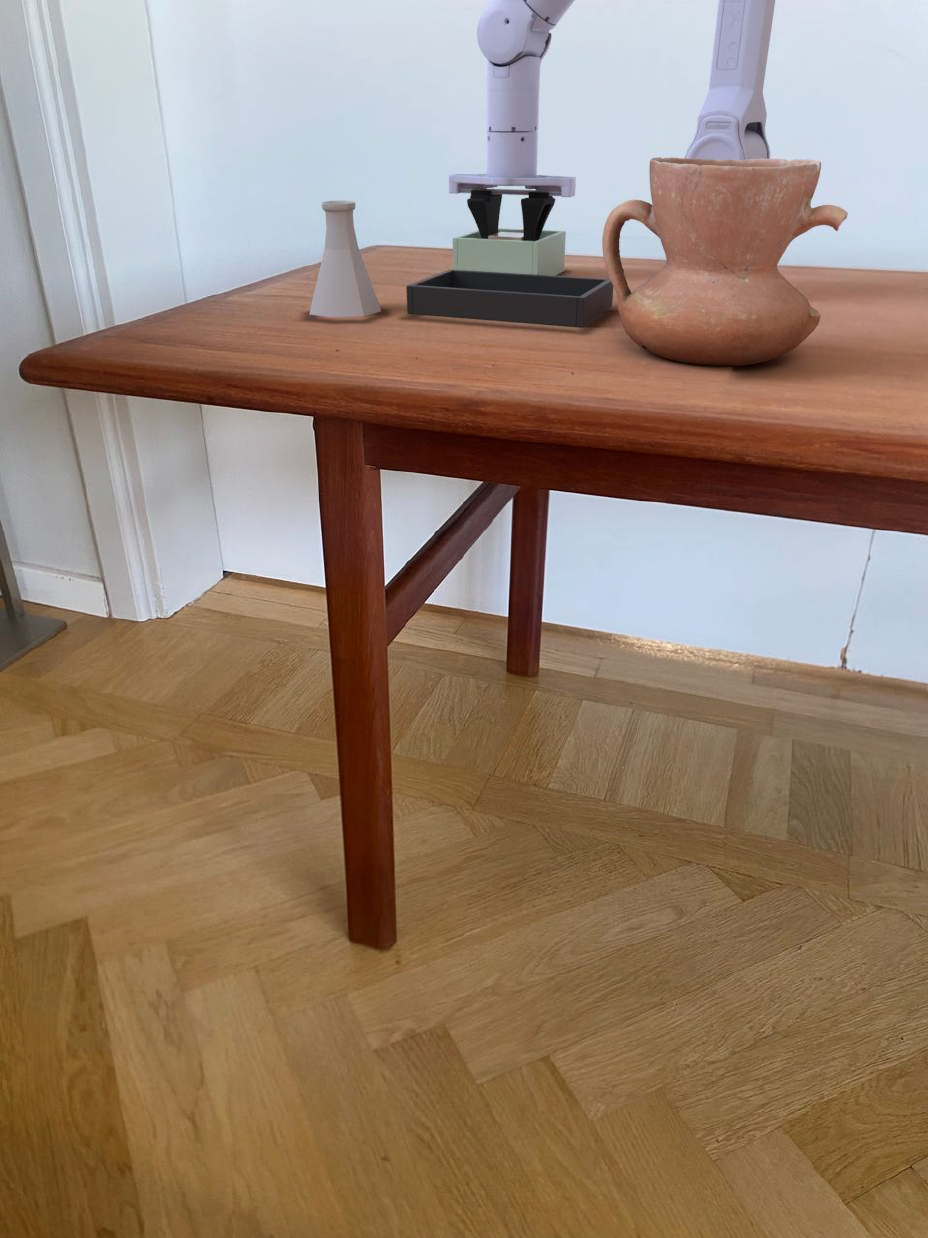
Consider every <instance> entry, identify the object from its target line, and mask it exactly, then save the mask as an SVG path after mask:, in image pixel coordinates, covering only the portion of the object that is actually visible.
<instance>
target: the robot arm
mask: <svg viewBox="0 0 928 1238" xmlns="http://www.w3.org/2000/svg"><path fill="white" fill-rule="evenodd" d="M575 1H576V0H489V1H488V2H487V3H486V4H485V6H484V10H483V11H482V13H481V14H480V17H479V19H478V23H477V27H476V39H477V44H478V47H479V49H480V51H481V53H482V55H483V56H484V57H485V58H486V87H485V88H486V90H485V91H486V92H485V93H486V95H485V96H486V98H485V99H486V100H485V103H486V105H485V106H486V107H485V108H486V109H485V111H486V112H485V115H486V116H485V128H486V129H485V131H486V132H485V147H486V148H485V173H454V174H449V175H448V194H457V195H458V194H470V195H469V198H467V199H466V204H467V208H468V209H469V211H470V213H471V215H472V218H473V220H474V222H475V224H476V227H477V230H479V233H480V236H481V239H488V236H490V235H493V234H496V233H498V228H499V225H500V224H499V223H500V213H501V208H502V207H501V206H502V201H503V195H510V196H528V197H524V198H521V199H520V206H521V215H522V229H523V233H524V236H523V241H537V240H539V239H540V236H541V233H542V230H544V226H545V225H546V222H547V220H548V218H549V216H550V213H551V211H552V210H553V207H554V205H555V203H556V197H561V198H571V197H572V198H573V197H575V196H576V185H577V184H576V183H577V177H576V176H561V175H546V174H545V175H541V174H538V151H539V149H538V148H539V147H538V146H539V119H540V118H539V112H540V87H541V86H540V84H541V83H540V81H541V79H540V78H541V64H542V61H543V59H544V58H545V56H546V55H547V53H548V51H549V49H550V46H551V43H552V32H550V31H551V30H554V29H555V28H556V26H557V25H558V24H559V22H560V21H561V20H562V18H563V17H564V16H565V14H567V12H568V10H569V9H570V8H571V6H572V5H573V4H574V3H575ZM717 5H718V6H717V13H716V21H715V32H714V40H713V46H712V47H713V48H712V57H711V66H710V74H709V83H708V84H709V85H708V92H707V94H706V97H705V99H704V101H703V104H702V105H701V108H700V110H699V113H698V115H697V123H696V124H697V125H696V130H695V132H694V133H695V134H694V136H693V138H692V141H691V142H690V144H689V145H688V148H687V150H686V152H685V153H684V158H687V159H713V160H729V159H732V160H736V161H738V160H747V159H771V150H770V149H771V148H770V145H769V142H768V140H767V135H766V122H767V116H768V114H767V113H768V112H767V107H766V101H765V98H764V84H765V79H766V71H767V63H768V56H769V49H770V42H771V36H772V35H771V34H772V28H773V20H774V13H775V6H776V0H718V4H717ZM498 187H524V189H513V188H512V189H511V188H509V189H508V188H498Z"/></svg>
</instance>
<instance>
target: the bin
mask: <svg viewBox="0 0 928 1238" xmlns="http://www.w3.org/2000/svg"><path fill="white" fill-rule="evenodd" d="M499 232H513V233H523V228H522V229H521V228H504V227H503V228H501V227H498V233H499ZM566 234H567V231H566V230H549V229H543V230H542V233H541V236H540V239H539V240H537V241H519V240H498V239H481V236H480V233H479V230H478V229H477V230H474V231H470V232H468V233H467V232H466V233H464V234H462V235H458V236H455V237H452V270H468V271H484V272H501V273H517V274H534V275H550V276H559V274H561V273H564V272H565V261H566V260H565V255H566V236H567V235H566Z"/></svg>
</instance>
